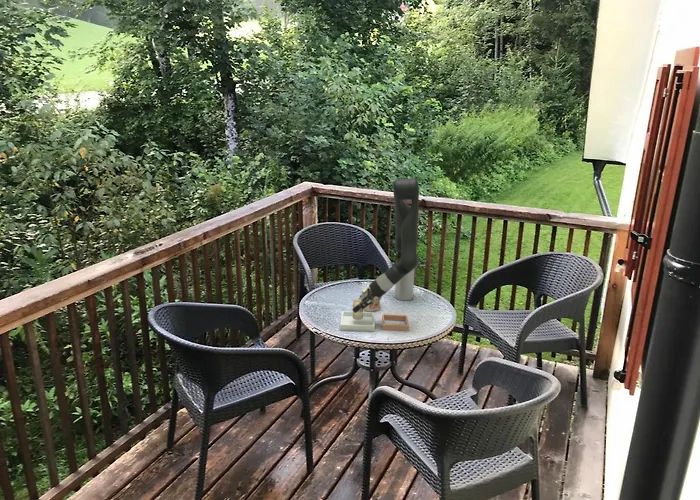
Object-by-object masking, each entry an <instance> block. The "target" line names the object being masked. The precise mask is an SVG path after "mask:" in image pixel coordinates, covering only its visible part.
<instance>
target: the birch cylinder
mask: <svg viewBox="0 0 700 500" xmlns="http://www.w3.org/2000/svg"><path fill="white" fill-rule="evenodd" d="M360 302H361V299H359V298H358V299H353V301H352V303H353V304H352V309H353V308H354V307H355V306H357V305H358V304H359V303H360ZM362 305H363V304H362ZM352 312H353V311H352ZM363 312H364V310H363V309H362V308H361V309H360V310H359V311H357V312H356V313H354V312H353V319H356V320H361V319H363Z"/></svg>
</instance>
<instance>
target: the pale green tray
mask: <svg viewBox="0 0 700 500" xmlns="http://www.w3.org/2000/svg"><path fill="white" fill-rule="evenodd" d="M375 324H376V323H375V312H374V311H373V312H370V311H363V319H361V320H356V319H353V311H345V310H342V311H341V316H340V329H339V331H343V332H361V331H363V332H365V333H375V329H376V328H375V327H376V326H375Z"/></svg>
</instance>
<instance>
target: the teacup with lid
mask: <svg viewBox="0 0 700 500" xmlns="http://www.w3.org/2000/svg"><path fill="white" fill-rule="evenodd" d="M368 288H369V286H368V287H365V288H363V289H362V290H361V293H362V294H363V293H364V292H365V291H366V290H367V289H368ZM369 289H370V288H369ZM362 294H361V295H362ZM382 297H383V296H382ZM382 297H381V298H378V297H376V296H375V297H374V299H373V300H372V303H371V304H370V305H368V306H367V307H365V308H364V309H363V311H364V312H373V313H374V312H378V311H379V310H380V306H381V305H380V304H381V302H380V301H381V300H382ZM363 305H364V304H363Z"/></svg>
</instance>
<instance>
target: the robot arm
mask: <svg viewBox="0 0 700 500" xmlns="http://www.w3.org/2000/svg"><path fill="white" fill-rule="evenodd" d="M392 191H393V192H392V193H393V200H394V201H393V202H394V226H395V227H394V228H395V235H394V236H395V237H394V249H395V251H396V252H397V253H400V257H399V258H397V260H396V264H394V265H392V266H390V267H389V268H388V269H387V270H385V272H383V273H382V274H380V275H379V276H378V277H377V278H376V279H374V280H373V281H372V282H371V283H370V284H369V285H368V287H369V288H370V289H369V288H368V287H367V288H368V289H367V290H366V291H365V292H364V293H363V294H361V295H360V296H359V298H358V299H361V302H360V303H359V304H358V305H357V306H355V307H354V308H353V307H352V309H351V310H352V312H354V313H356V312H357V311H359V310H360V309H361V308H362V309H364V308H365V307H367V306H368V305H370V304H371V303H372V300H373V299H374V297H375V296H376V297H378V298H381V297H383V296H384V295H385V294H387V293H388V292H389V291H390V290H391V289H392V288H393V287H394V286H395V287H394V298H395V299H396V300H398V301H410V300H413V295H414V285H415V284H414V282H415V269H416V268H417V267H418V266H419V263H420V259H419V257H418V255H417V247H418V218H419V217H418V215H419V201H420V200H419V197H420V187H419V181H418V179H417V178H414V177H413V178H398V179H395V180H394V182H393V185H392ZM407 200H410V201H411V204H410V205H409V204H408V203H407V202H406V201H407ZM381 299H382V298H381ZM362 304H364V305H362Z"/></svg>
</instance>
